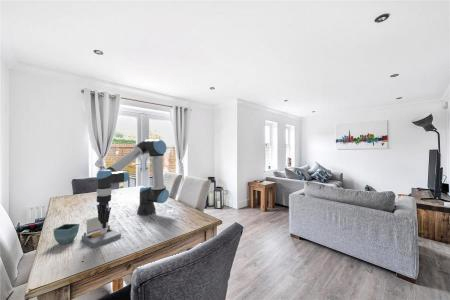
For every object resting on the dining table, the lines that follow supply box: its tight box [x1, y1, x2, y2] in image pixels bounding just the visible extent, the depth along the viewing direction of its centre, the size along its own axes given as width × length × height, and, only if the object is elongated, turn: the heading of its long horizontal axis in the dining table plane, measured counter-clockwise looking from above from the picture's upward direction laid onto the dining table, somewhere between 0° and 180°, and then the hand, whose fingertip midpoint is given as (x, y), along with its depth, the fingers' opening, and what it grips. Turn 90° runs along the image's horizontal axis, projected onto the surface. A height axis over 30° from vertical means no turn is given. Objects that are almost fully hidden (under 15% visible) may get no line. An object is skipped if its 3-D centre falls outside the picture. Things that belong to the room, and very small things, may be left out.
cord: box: [91, 230, 107, 238], centre depth 116 cm, size 3×8×3 cm
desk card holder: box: [81, 224, 122, 249], centre depth 114 cm, size 16×15×5 cm
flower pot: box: [52, 223, 80, 244], centre depth 109 cm, size 9×9×9 cm
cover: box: [86, 216, 109, 234], centre depth 117 cm, size 8×12×1 cm
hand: (103, 232), depth 113 cm, fingers closed
